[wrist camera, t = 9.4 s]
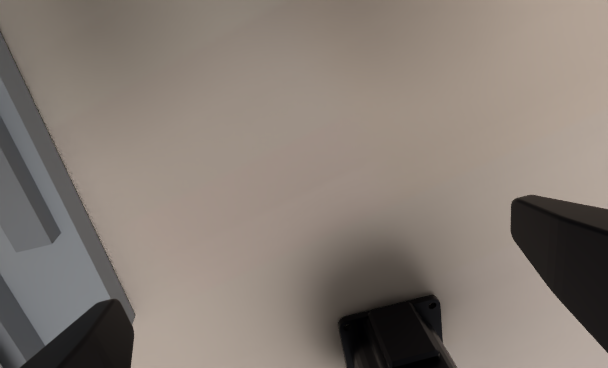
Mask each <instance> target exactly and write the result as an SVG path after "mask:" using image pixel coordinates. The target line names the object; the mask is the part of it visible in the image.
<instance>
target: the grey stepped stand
mask: <svg viewBox="0 0 608 368" xmlns="http://www.w3.org/2000/svg"><path fill="white" fill-rule="evenodd" d="M113 298H115V299H118V300H119V301H120V302H121V304H122V306H123V308H124V310H125V312H126V314H127V316H128V318H129V320H130V322H131V324H133V321H134V318H135V314H134V312H133V310H132V307H131V305H130V303H129V301H128V299H127V297H126V295H125V293H124V291H123V289H122V286H121V284H120V282H119V280H118V278H117V276H116V274H115V272H114V270H113V268H112V265H111V263H110V261H109V259H108V257H107V255H106V253H105V251H104V249H103V247H102V244H101V242H100V240H99V238H98V236H97V234H96V232H95V230H94V228H93V226H92V223H91V221H90V219H89V217H88V215H87V213H86V211H85V209H84V207H83V205H82V202H81V200H80V198H79V196H78V194H77V192H76V190H75V188H74V186H73V184H72V181H71V179H70V177H69V175H68V173H67V171H66V169H65V167H64V165H63V163H62V160H61V158H60V156H59V154H58V152H57V150H56V148H55V146H54V144H53V142H52V139H51V137H50V135H49V133H48V131H47V129H46V127H45V125H44V123H43V121H42V118H41V116H40V114H39V112H38V110H37V108H36V106H35V104H34V102H33V100H32V97H31V95H30V93H29V91H28V89H27V87H26V85H25V83H24V81H23V79H22V76H21V74H20V72H19V70H18V68H17V66H16V64H15V62H14V60H13V58H12V55H11V53H10V51H9V49H8V47H7V45H6V43H5V41H4V39H3V37H2V34H1V32H0V368H20V367H21V366H22V365H23V364H24V363H26V362H27V361H28V360H29V359H30V358H32V357H33V356H34V355H35V354H36V353H38V352H39V351H40V350H41V349H42V348H43V347H45V346H46V345H47V344H48V343H49V342H51V341H52V340H53V339H54V338H55V337H57V336H58V335H59V334H60V333H61V332H62V331H64V330H65V329H66V328H67V327H68V326H70V325H71V324H72V323H73V322H74V321H76V320H77V319H78V318H79V317H80V316H81V315H83V314H84V313H85V312H86V311H87V310H89V309H90V308H91V307H92V306H93V305H95V304H96V303H98V302H101V301H105V300H109V299H113Z"/></svg>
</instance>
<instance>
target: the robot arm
mask: <svg viewBox="0 0 608 368" xmlns="http://www.w3.org/2000/svg"><path fill="white" fill-rule="evenodd" d="M511 234H512V237H513V239H514V241H515V242H516V244H517V245H518V246H519V248H520V249H521V250H522V252H523V253H524V255H525V256H526V257H527V259H528V260H529V261H530V263H531V264H532V265H533V267H534V268H535V269H536V271H537V272H538V273H539V275H540V276H541V278H542V279H543V280H544V282H545V283H546V284H547V286H548V287H549V288H550V289H551V291H552V292H553V293H554V294H555V295H556V296H557V298H558V299H559V300H560V301H561V302H562V303H563V304H564V306H565V307H566V308H567V309H568V310H569V311H570V312H571V313H572V314H573V315H574V316H575V318H576V319H577V320H578V321H579V322H580V323H581V324H582V325H583V326H584V327H585V329H586V330H587V331H588V332H589V333H590V334H591V335H592V336H593V337H594V338H595V339H596V341H597V342H598V343H599V344H600V345H601V346H602V347H603V348H604V349H605V350H606V352H607V353H608V209H603V208H598V207H593V206H588V205H583V204H578V203H572V202H567V201H562V200H557V199H552V198H546V197H541V196H536V195H527V196H523V197H519V198H516V199H514V200H513V201H512V204H511ZM430 303H432V304H430ZM429 304H430V305H429ZM346 324H349V325H348V326H345V325H346ZM338 328H339V333H340V337H341V342H342V347H343V352H344V357H345V362H346V366H347V368H457V366H456V365H455V363H454V361H453V360H452V358H451V356H450V355H449V353H448V351H447V350H446V348H445V346H444V345H443V339H442V324H441V309H440V302H439V300H438V299H437V297H436V296H434V295H429V296H425V297H421V298H417V299H413V300H409V301H405V302H401V303H397V304H394V305H390V306H386V307H382V308H378V309H374V310H370V311H366V312H362V313H358V314H354V315H350V316H346V317H343V318H341V319H340V320H339V322H338ZM133 342H134V330H133V326H132V324H131V322H130V320H129V318H128V316H127V314H126V312H125V310H124V308H123V306H122V304H121V302H120V301H119V300H118V299H115V298H113V299H109V300H105V301H101V302H98V303H96V304H95V305H93V306H92V307H91V308H90V309H89V310H87V311H86V312H85V313H84V314H83V315H81V316H80V317H79V318H78V319H77V320H76V321H74V322H73V323H72V324H71V325H70V326H68V327H67V328H66V329H65V330H64V331H62V332H61V333H60V334H59V335H58V336H57V337H55V338H54V339H53V340H52V341H51V342H49V343H48V344H47V345H46V346H45V347H43V348H42V349H41V350H40V351H39V352H38V353H36V354H35V355H34V356H33V357H32V358H30V359H29V360H28V361H27V362H26V363H24V364H23V365H22V366H21V367H20V368H131V360H132V351H133Z"/></svg>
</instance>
